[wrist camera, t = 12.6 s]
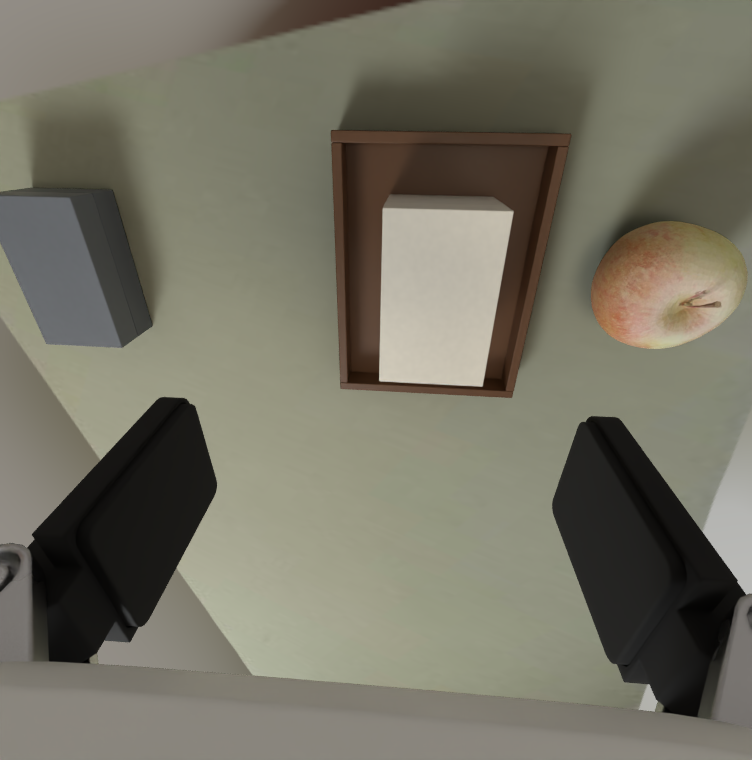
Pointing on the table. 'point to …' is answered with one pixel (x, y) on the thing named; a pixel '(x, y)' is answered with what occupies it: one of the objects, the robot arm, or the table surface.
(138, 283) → the grey book lower
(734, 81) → the table surface
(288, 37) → the table surface
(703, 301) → the fruit
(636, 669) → the robot arm
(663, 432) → the table surface
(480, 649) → the table surface
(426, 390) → the book tray
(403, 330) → the white book
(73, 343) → the grey book upper
